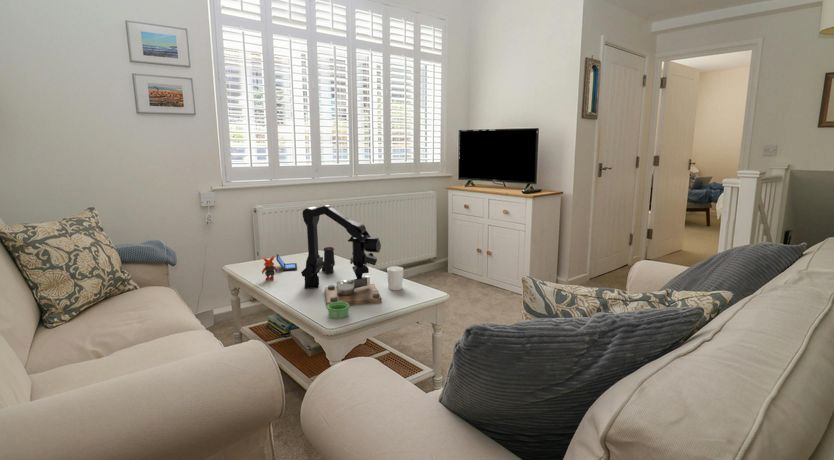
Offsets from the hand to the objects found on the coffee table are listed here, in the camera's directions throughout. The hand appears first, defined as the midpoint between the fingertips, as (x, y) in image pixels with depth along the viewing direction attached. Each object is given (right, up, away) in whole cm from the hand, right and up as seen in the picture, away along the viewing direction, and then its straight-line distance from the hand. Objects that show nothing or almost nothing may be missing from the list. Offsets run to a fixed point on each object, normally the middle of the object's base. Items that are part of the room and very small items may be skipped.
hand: (359, 282), depth 216 cm
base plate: (-3, -6, -6) cm, 9 cm away
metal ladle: (-2, -3, -5) cm, 6 cm away
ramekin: (-5, -11, -28) cm, 30 cm away
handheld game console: (-46, +3, +39) cm, 60 cm away
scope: (-21, +2, +31) cm, 37 cm away
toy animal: (-50, -1, +19) cm, 53 cm away
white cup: (+17, -4, +6) cm, 18 cm away
